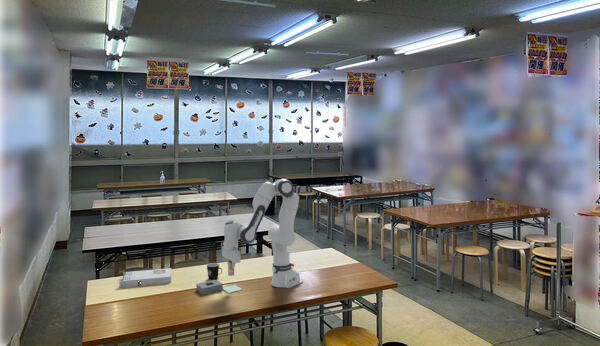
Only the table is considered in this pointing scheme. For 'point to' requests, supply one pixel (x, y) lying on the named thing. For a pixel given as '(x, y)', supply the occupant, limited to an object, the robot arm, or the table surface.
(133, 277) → the power supply unit
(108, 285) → the table surface
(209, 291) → the gray rectangular block
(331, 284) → the table surface
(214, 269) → the coffee mug
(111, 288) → the table surface
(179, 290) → the table surface
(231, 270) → the plug
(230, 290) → the mat
